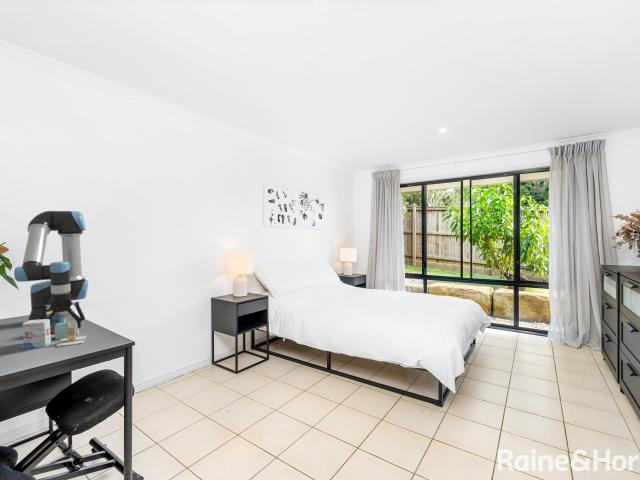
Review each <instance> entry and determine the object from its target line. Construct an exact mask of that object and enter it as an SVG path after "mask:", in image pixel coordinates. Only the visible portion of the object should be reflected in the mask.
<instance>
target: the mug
mask: <svg viewBox="0 0 640 480" xmlns="http://www.w3.org/2000/svg"><path fill="white" fill-rule="evenodd" d="M52 312H53V311H49V312H47V313H46V316H47V318H48V317H49V316H50V315H51V313H52ZM68 315H70V313H69V312H67V311H65V312H62V311H61V312H56V313H55V314H54V316H53V317H52V319H51V320H50V334H55V325H56V324H58V323H65V322H71V321H72V320H74V318H73V317H71V319H70V320H68V321H67V317H68Z"/></svg>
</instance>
